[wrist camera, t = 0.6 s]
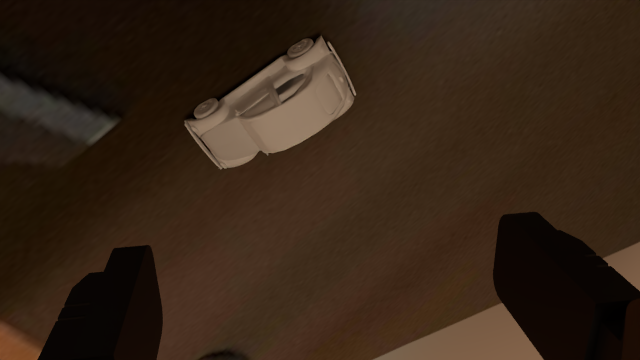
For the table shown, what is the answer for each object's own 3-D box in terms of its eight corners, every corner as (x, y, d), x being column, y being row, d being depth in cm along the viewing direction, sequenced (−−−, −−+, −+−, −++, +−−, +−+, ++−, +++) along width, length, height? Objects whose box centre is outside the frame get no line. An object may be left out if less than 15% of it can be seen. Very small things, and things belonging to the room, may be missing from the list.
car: (321, 24, 39) (338, 51, 35) (356, 91, 42) (374, 122, 39) (176, 107, 40) (178, 142, 36) (223, 165, 44) (228, 202, 40)
